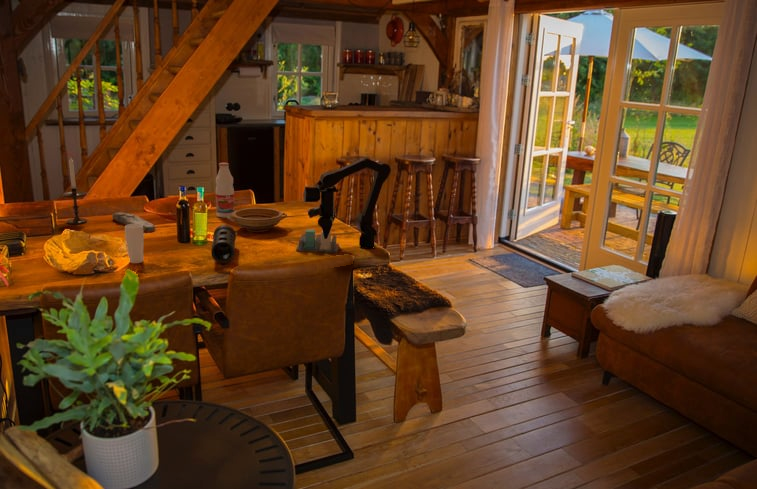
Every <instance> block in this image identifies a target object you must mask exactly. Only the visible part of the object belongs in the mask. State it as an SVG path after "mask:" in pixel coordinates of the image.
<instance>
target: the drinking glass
mask: <svg viewBox="0 0 757 489" xmlns="http://www.w3.org/2000/svg"><path fill="white" fill-rule="evenodd" d="M144 233H145V232H144V231H143V225H141V224H128V225H125V226H124V236H125V243H126V247H127V254H128V259H129V258H130V262H129V263H131V264H140V263H143V262H144V242H145V240H144V238H145V237H144V236H145V235H144Z"/></svg>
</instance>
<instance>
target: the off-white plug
mask: <svg viewBox="0 0 757 489" xmlns="http://www.w3.org/2000/svg"><path fill="white" fill-rule="evenodd" d="M320 235H321V248H330V246H331V240H332V229H331V230H330V232H329V235H328V237H327V239H324V235H323V230H322V229H321V234H320Z"/></svg>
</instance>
